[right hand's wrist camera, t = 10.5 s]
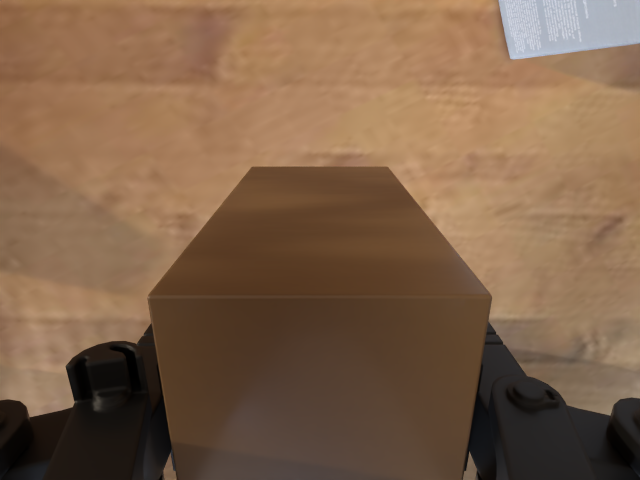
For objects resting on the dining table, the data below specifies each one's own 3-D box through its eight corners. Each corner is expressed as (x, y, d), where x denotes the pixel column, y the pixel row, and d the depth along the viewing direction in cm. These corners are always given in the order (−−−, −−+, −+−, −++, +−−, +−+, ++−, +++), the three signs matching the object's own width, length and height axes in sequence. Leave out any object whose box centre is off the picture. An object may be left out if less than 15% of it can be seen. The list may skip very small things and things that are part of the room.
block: (388, 166, 15) (494, 295, 6) (378, 344, 17) (440, 624, 8) (251, 166, 15) (145, 295, 6) (261, 344, 17) (198, 624, 8)
